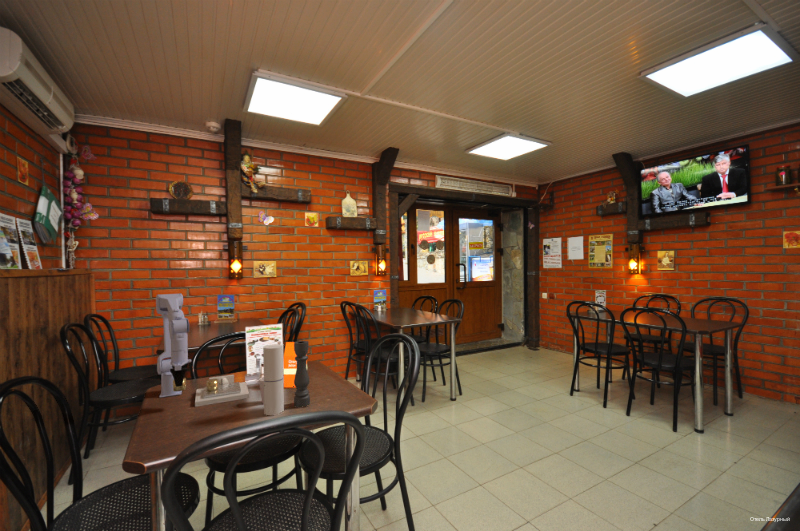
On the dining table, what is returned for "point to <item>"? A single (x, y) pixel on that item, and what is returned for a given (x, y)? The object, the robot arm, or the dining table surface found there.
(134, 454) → the dining table surface
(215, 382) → the brass weight
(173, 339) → the robot arm
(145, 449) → the dining table surface
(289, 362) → the orange juice
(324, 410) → the dining table surface
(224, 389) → the scale pan
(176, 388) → the brass weight
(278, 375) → the cylindrical container
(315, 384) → the dining table surface
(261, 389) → the smoothie
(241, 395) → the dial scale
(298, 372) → the candle holder
